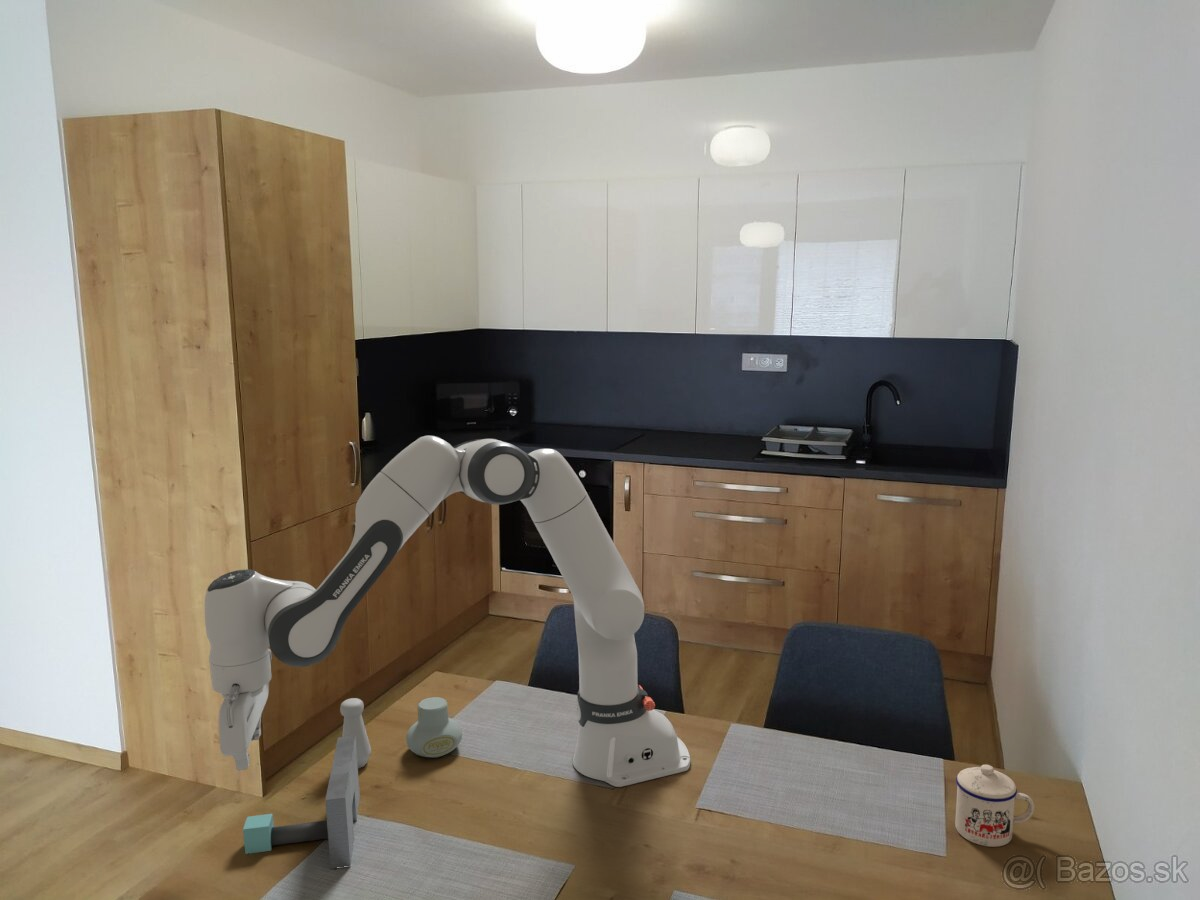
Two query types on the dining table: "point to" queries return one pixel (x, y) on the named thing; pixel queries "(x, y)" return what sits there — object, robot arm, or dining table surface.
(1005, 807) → the teacup with lid
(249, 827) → the plug
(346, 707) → the salt shaker
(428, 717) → the air freshener
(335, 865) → the block
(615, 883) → the dining table surface
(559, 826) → the dining table surface
